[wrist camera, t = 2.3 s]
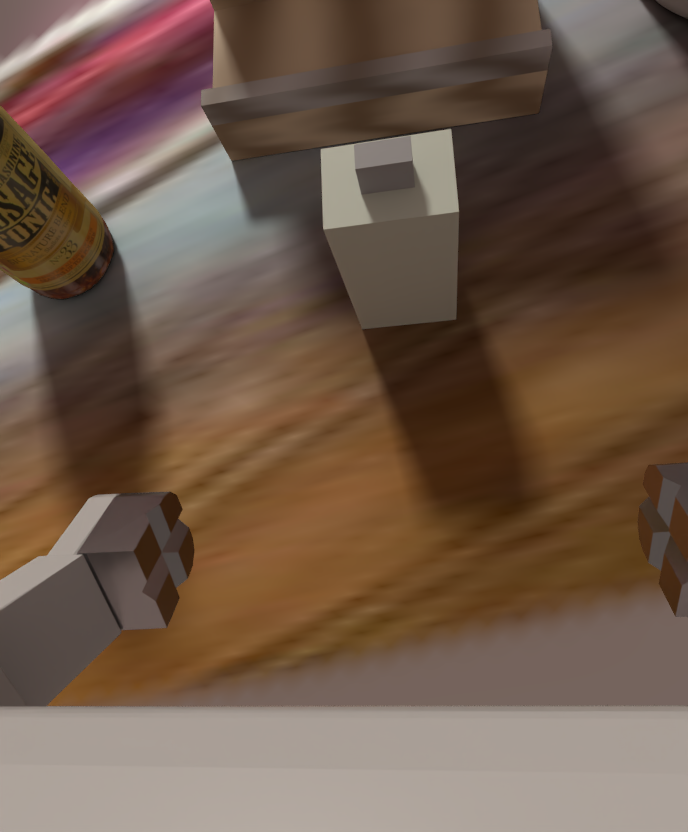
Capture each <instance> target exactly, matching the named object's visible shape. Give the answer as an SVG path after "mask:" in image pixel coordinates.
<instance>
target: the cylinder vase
mask: <svg viewBox="0 0 688 832" xmlns="http://www.w3.org/2000/svg"><path fill="white" fill-rule="evenodd" d="M655 1H657V2H658V3H659V4H661V5H662V6H663V7H665V8H666V9H668V10H670V11H672V12H673V13H675V14H678V15H680V16H682V17H684V18H687V19H688V0H655Z"/></svg>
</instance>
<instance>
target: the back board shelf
mask: <svg viewBox="0 0 688 832" xmlns="http://www.w3.org/2000/svg"><path fill="white" fill-rule="evenodd" d="M210 2H211V4H212V6H213V9H214V56H213V88H211V89H205V90H201V107H202V109H203V110H204V112H205V114H206V116H207V118H208V119H209V121H210V123H211V125H212V127H213V128H214V130H215V132H216V134H217V136H218V137H219V139H220V141H221V143H222V145H223V147H224V148H225V150H226V152H227V154H228V156H229V157H230V159H231V161H233V160H240V159H246V158H253V157H259V156H266V155H272V154H279V153H285V152H292V151H298V150H304V149H311V148H317V147H324V146H330V145H337V144H343V143H350V142H356V141H363V140H369V139H376V138H382V137H388V136H395V135H401V134H408V133H414V132H421V131H427V130H434V129H440V128H447V127H453V126H460V125H466V124H472V123H479V122H485V121H492V120H498V119H505V118H511V117H518V116H524V115H531V114H537V113H539V110H540V105H541V100H542V95H543V90H544V85H545V81H546V76H547V71H548V66H549V61H550V56H551V51H552V46H553V44H552V38H551V31H550V29H545V30H542V28H541V22H540V15H539V8H538V1H537V0H210Z"/></svg>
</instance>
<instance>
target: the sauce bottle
mask: <svg viewBox="0 0 688 832" xmlns="http://www.w3.org/2000/svg"><path fill="white" fill-rule="evenodd" d="M113 252H114V249H113V241H112V238H111V234H110V232H109V230H108V227H107V225H106V223H105V221H104V220H103V218H102V217H101V216H100V214H99V212H98V211H97V209H96V208H95V207H94V206H93V205H92V204H91V203H90V202H89V201H88V200H87V198H86V197H85V196H84V195H83V194H82V193H81V192H80V191H79V190H78V189H77V188H76V187H75V186H74V185H73V184H72V182H71V181H70V180H69V179H68V178H67V177H66V176H65V175H64V174H63V172H62V171H61V170H60V169H59V168H58V167H57V166H56V165H55V164H54V163H53V162H52V160H51V159H50V158H49V157H48V156H47V155H46V154H45V153H44V152H43V151H42V150H41V148H40V147H39V146H38V145H37V144H36V143H35V142H34V141H33V140H32V139H31V138H30V137H29V136H28V134H27V133H26V132H25V131H24V130H23V129H22V128H21V127H20V126H19V125H18V124H17V123H16V122H15V121H14V119H13V118H12V117H11V116H10V115H9V114H8V113H7V112H6V111H5V110H4V109H3V108H2V107H1V106H0V270H2V271H3V272H4V273H6V274H7V275H9V276H10V277H12V278H13V279H14V280H16V281H17V282H19V283H20V284H22V285H23V286H26V287H28V288H30V289H32V290H33V291H35V292H37V293H39V294H40V295H43V296H46V297H49V298H53V299H54V298H55V299H66V298H70V297H73V296H76V295H79V294H82V293H84V292H85V291H87V290H89V289H91V288H92V287H93V285H95V284H97V283H98V282H99V280H100V278H101V277H102V276H103V275H104V273H105V271H106V270H107V268H108V265H109V263H110V259H111V258H112V256H113Z"/></svg>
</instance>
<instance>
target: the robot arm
mask: <svg viewBox="0 0 688 832" xmlns="http://www.w3.org/2000/svg"><path fill="white" fill-rule="evenodd" d="M643 486H644V488H645V490H646V492H647V494H648V495H649V497H648V498H647V499H646V500H645V501H644V502H643V503H642V504H641V505H640V506H639V513H638V532H639V540H640V543H641V546H642V550H643V552H644V554H645V556H646V558H647V561H648V562H649V563H650V564H652V565H653V566H655V567H656V568H658V569H659V570H661V574H660V579H659V585H660V587H661V589H662V591H663V593H664V595H665V597H666V599H667V601H668V603H669V605H670V607H671V609H672V611H673V613H674V615H675V616H676V617H688V462H684V463H668V464H652V465H648V467H647V469H646V471H645V474H644V480H643ZM181 511H182V507H181V504H180V502H179V499H178V497H177V495H176V494H174V493H172V492H149V493H122V494H103V495H95V496H93V497H91V498H89V499H88V500H87V502H86V503H85V505H84V506H83V507H82V509H81V510H80V511H79V513H78V514H77V515H76V517H75V518H74V520H73V521H72V522H71V524H70V525H69V526H68V528H67V529H66V530H65V532H64V533H63V535H62V536H61V537H60V539H59V540H58V541H57V543H56V544H55V545H54V547H53V548H52V550H51V551H50V552H49V554H48V555H47V556H39V557H37V558H35V559H34V560H32V561H31V562H29V563H27V564H26V565H24V566H22V567H21V568H19V569H18V570H16V571H14V572H13V573H11V574H10V575H8V576H6V577H5V578H3V579H2V580H0V832H688V706H47V705H48V704H49V703H50V702H51V701H52V700H53V699H54V698H55V697H56V696H57V695H58V694H59V693H60V692H61V691H62V690H63V689H64V688H65V687H66V686H67V685H68V684H69V683H70V682H71V681H72V680H73V679H74V678H75V677H76V676H77V675H78V674H80V673H81V672H82V671H83V670H84V669H85V668H86V667H87V666H88V665H89V664H90V663H91V662H92V661H93V660H94V659H95V658H96V657H97V656H98V655H99V654H100V653H101V652H102V651H103V650H104V649H105V648H106V647H107V646H108V645H109V644H110V643H111V642H112V641H113V640H114V639H116V638H117V637H118V636H119V635H120V634H121V630H134V629H153V628H167V626H168V624H169V622H170V619H171V617H172V615H173V612H174V610H175V608H176V605H177V603H178V600H179V598H180V597H179V595H178V592H177V589H176V588H177V587H178V586H179V585H180V584H181V583H183V582H184V581H185V580H186V579H188V576H189V574H190V571H191V569H192V566H193V558H194V544H193V537H192V535H191V532H190V529H189V527H188V526H186V525H185V524H184V523H183V522H181V521H180V520H179V519H178V518H179V516H180V513H181Z"/></svg>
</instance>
